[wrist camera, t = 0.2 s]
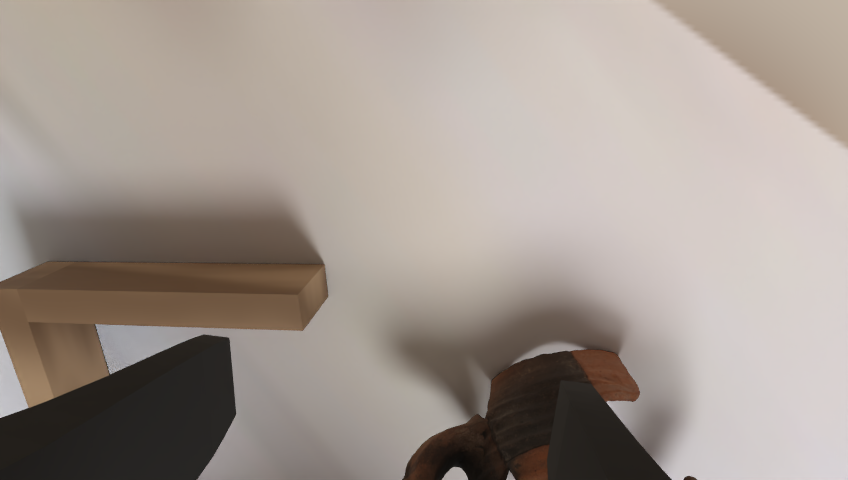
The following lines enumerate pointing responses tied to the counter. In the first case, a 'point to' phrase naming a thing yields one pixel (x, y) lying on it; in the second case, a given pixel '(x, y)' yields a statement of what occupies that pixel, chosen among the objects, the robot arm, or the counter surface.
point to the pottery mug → (520, 418)
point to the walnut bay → (139, 310)
